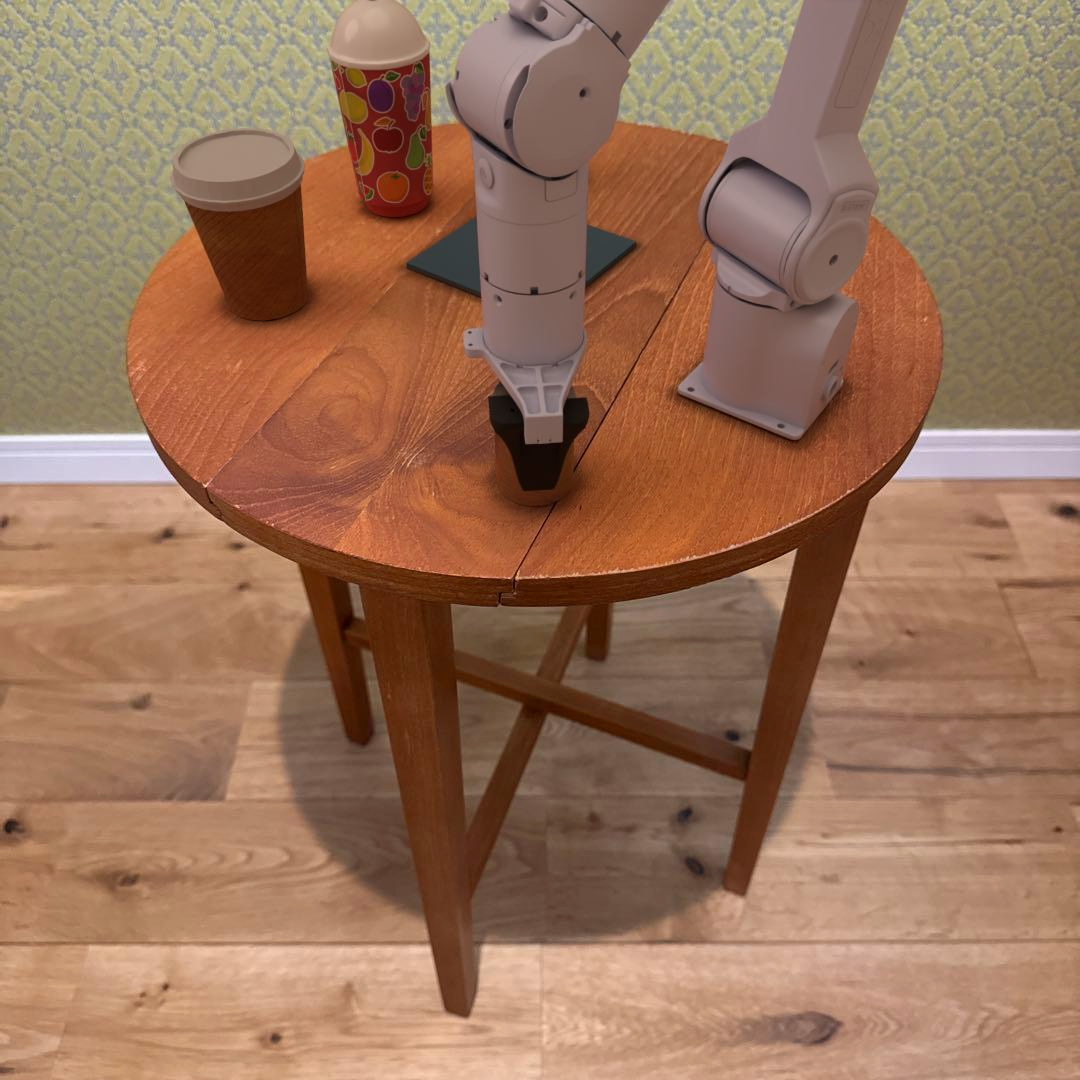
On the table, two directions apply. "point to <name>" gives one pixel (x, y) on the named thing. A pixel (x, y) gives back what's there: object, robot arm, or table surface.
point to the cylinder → (508, 476)
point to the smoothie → (385, 104)
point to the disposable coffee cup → (248, 216)
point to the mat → (460, 256)
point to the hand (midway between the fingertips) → (534, 456)
